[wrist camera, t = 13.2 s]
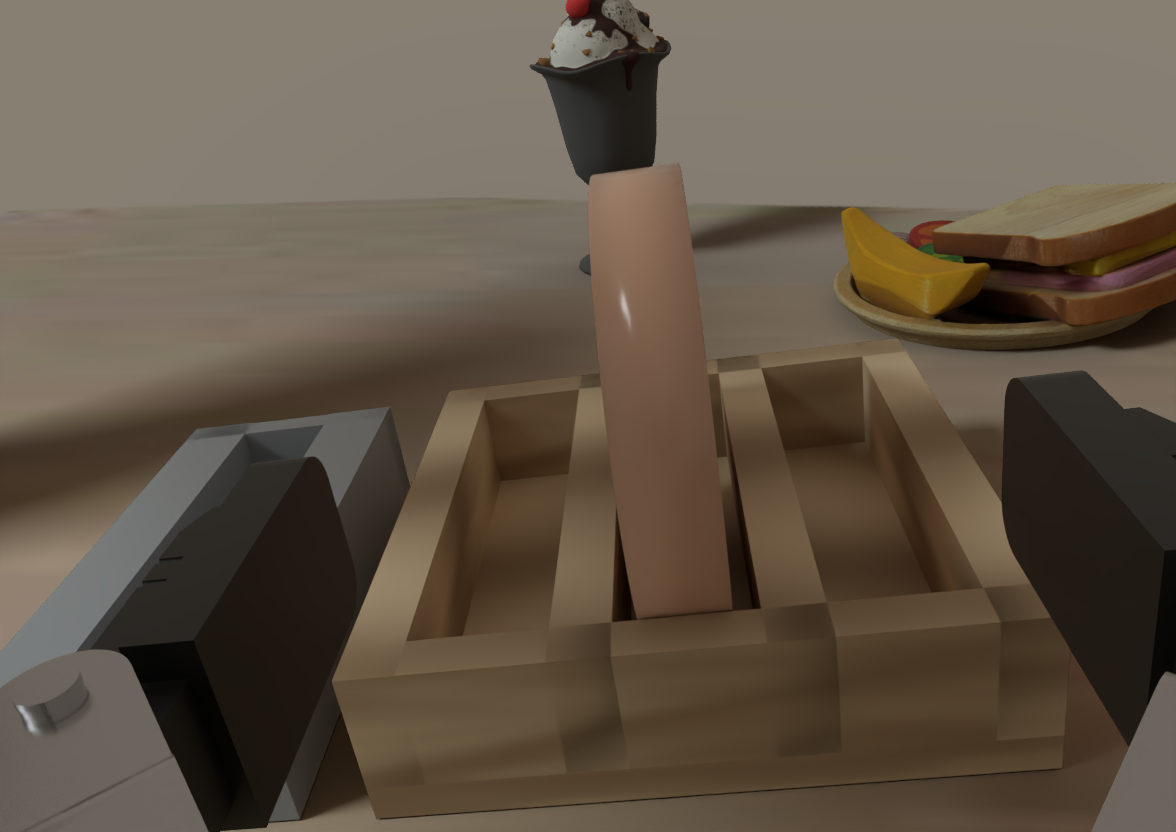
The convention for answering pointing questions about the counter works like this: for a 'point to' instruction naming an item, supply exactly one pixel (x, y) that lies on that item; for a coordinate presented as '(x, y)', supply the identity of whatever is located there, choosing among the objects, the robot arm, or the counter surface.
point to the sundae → (605, 87)
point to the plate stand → (202, 481)
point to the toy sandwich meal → (1017, 269)
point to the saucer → (657, 393)
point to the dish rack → (703, 641)
